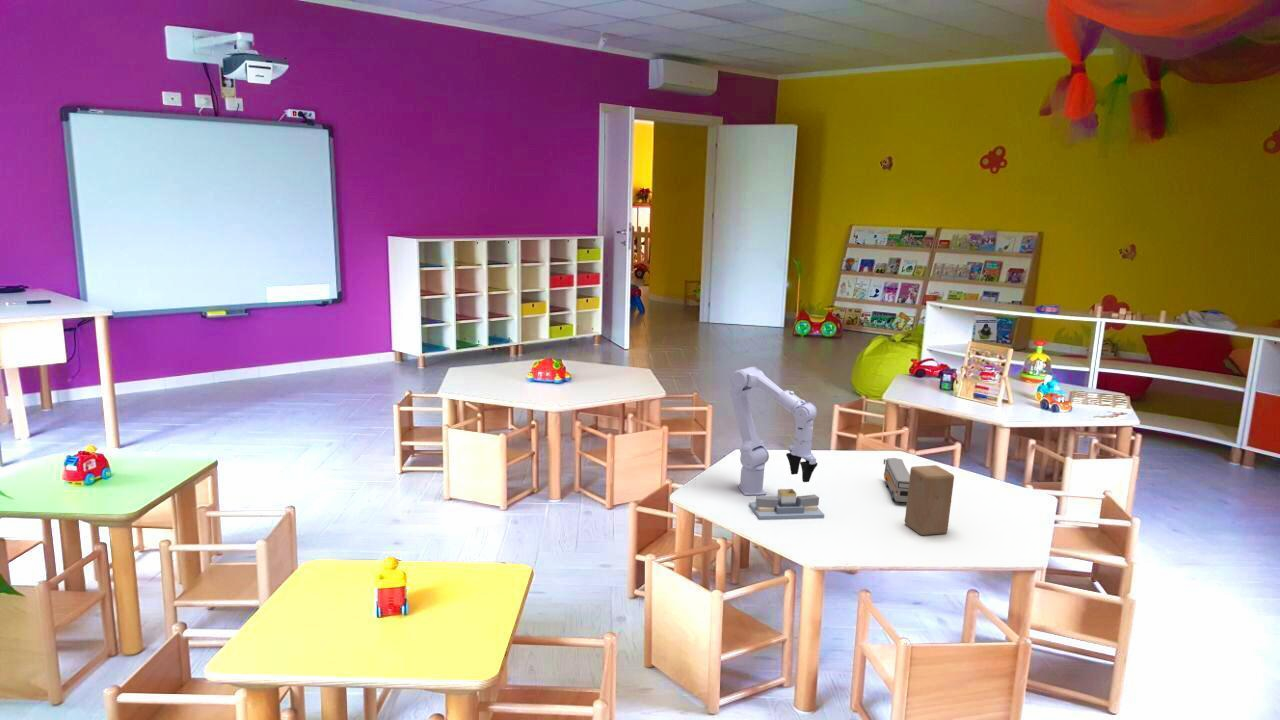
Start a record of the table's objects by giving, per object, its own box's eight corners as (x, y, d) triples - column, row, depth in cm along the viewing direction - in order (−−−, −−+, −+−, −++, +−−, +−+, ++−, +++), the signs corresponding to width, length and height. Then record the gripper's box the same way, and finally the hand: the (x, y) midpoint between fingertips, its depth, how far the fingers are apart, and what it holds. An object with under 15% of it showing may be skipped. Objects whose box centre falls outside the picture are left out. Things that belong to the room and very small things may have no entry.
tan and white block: (791, 505, 283) (792, 489, 282) (795, 510, 280) (796, 493, 278) (776, 506, 283) (778, 489, 281) (780, 510, 279) (781, 493, 277)
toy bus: (900, 481, 315) (902, 456, 312) (913, 507, 290) (916, 480, 288) (881, 480, 315) (884, 454, 313) (893, 506, 291) (896, 478, 288)
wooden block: (920, 536, 266) (927, 476, 262) (903, 524, 275) (909, 465, 271) (948, 534, 268) (955, 474, 264) (929, 521, 278) (936, 464, 274)
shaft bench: (749, 505, 285) (750, 491, 284) (811, 504, 289) (812, 489, 288) (759, 519, 274) (760, 504, 273) (824, 517, 277) (825, 503, 276)
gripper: (782, 433, 288) (779, 471, 291) (804, 446, 274) (800, 486, 277) (800, 432, 290) (797, 469, 293) (822, 445, 277) (819, 484, 280)
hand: (800, 477), depth 285 cm, fingers open, 7 cm apart
